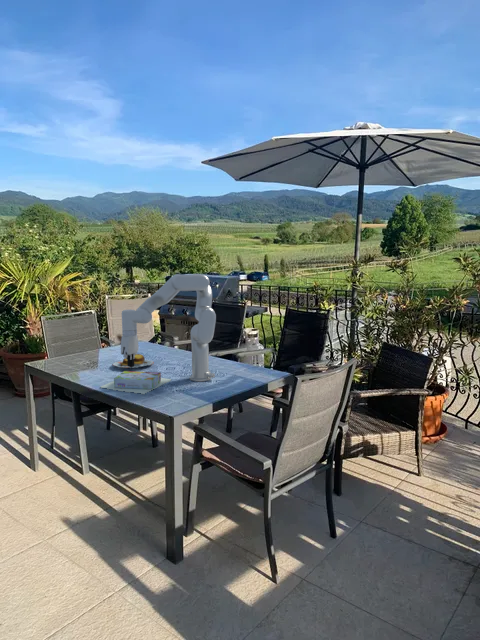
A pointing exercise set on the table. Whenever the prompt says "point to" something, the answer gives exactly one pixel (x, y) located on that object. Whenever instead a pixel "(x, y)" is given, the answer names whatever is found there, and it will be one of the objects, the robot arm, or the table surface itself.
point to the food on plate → (138, 362)
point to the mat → (135, 390)
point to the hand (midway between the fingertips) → (130, 366)
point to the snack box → (137, 380)
